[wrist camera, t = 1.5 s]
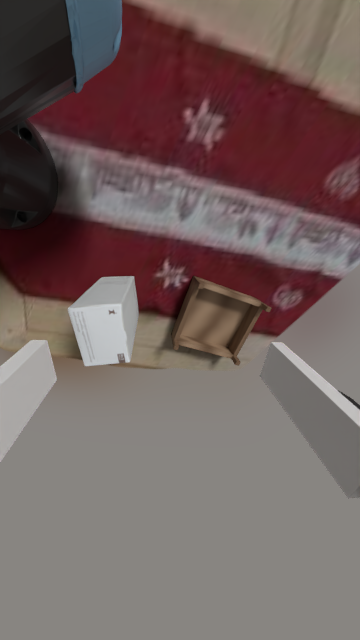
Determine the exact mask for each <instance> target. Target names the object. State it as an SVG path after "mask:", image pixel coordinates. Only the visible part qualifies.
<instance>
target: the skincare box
mask: <svg viewBox="0 0 360 640" xmlns="http://www.w3.org/2000/svg"><path fill="white" fill-rule="evenodd" d="M68 312H69V315H70V319H71V322H72V326H73V329H74V332H75V336H76V339H77V342H78V346H79V349H80V352H81V356H82V359H83V362H84V365H85V366H95V365H105V364H116V363H125V362H130V360H131V354H132V349H133V343H134V338H135V332H136V326H137V321H138V316H139V312H138V303H137V295H136V288H135V281H134V276H119V277H101V278H100V279H99V280H98V281H97V282H96V283H95V284H94V285H93V286H92V287H91V288H89V290H87V291H86V292H85V293H84V294H83V295H82V296H81V297H80V298H79V299H78V300H77V301H76V302H75V303H73V304H72V305H71V306H70V307H69V308H68Z"/></svg>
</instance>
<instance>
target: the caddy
mask: <svg viewBox="0 0 360 640" xmlns="http://www.w3.org/2000/svg"><path fill="white" fill-rule="evenodd" d="M262 310H265V311H267V312H270V310H271V307H269V306H267V305H266V304H264V303H262V302H261V301H259V300H258V299H256V298H254V297H251V296H248V295H246V294H243V293H240V292H237V291H234V290H232V289H229V288H226V287H223V286H220V285H218V284H215V283H212V282H209V281H207V280H204V279H201V278H198V277H195V276H193V279H192V281H191V284H190V286H189V289H188V292H187V294H186V297H185V299H184V302H183V305H182V307H181V310H180V312H179V315H178V318H177V320H176V323H175V325H174V328H173V331H172V333H171V334H172V341H173V349H175V350H178V348H179V345H181V346H185V347H189V348H193V349H197V350H200V351H204V352H208V353H212V354H216V355H220V356H223V357H227V358H231V359H232V360H233V362H234V364H235V365H239V364H240V361H239V359H238V358H237V355H238V353H239V351H240V349H241V348H242V346H243V344H244V342H245V340H246V339H247V337H248V335H249V333H250V331H251V330H252V328H253V326H254V324H255V322H256V321H257V319H258V317H259V315H260V313H261V312H262Z"/></svg>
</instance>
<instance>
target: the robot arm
mask: <svg viewBox="0 0 360 640" xmlns="http://www.w3.org/2000/svg"><path fill="white" fill-rule="evenodd" d="M121 35H122V1H121V0H0V229H11V230H23V229H28V228H32V227H34V226H37V225H38V224H40V223H42V222H43V221H44V220H45V219H46V218H47V217H48V216H49V215H50V213H51V212H52V210H53V208H54V205H55V202H56V198H57V192H58V181H57V173H56V169H55V165H54V162H53V159H52V156H51V154H50V152H49V149H48V147H47V145H46V144H45V142H44V140H43V138H42V137H41V135H40V134H39V133H38V131H37V130H36V129H35V127H34V126H33V125H32V124H31V123H30V122H29V120H28V119H27V118H29V117H31V116H33V115H34V114H36V113H38V112H39V111H41V110H43V109H44V108H46V107H48V106H50V105H51V104H53V103H55V102H56V101H58V100H60V99H62V98H63V97H65V96H67V95H68V94H70V93H72V92H73V91H74V92H75V93H78V92H80V91H81V89H82V87H83V84H84V83H85V82H86V81H88V80H89V79H91V78H92V77H93V76H95V75H96V74H98V73H99V72H100V71H102V70H103V69H104V68H106V67H107V66H109V65H110V64H111V63H112V62H113V60H114V59H115V57H116V55H117V53H118V50H119V46H120V41H121ZM260 377H261V378H262V380H263V381H264V383H265V384H266V385H267V387H268V388H269V389H270V390H271V392H272V394H273V395H274V396H275V398H276V399H277V401H278V402H279V403H280V405H281V406H282V407H283V409H284V410H285V412H286V413H287V414H288V415H289V417H290V419H291V420H292V421H293V422H294V424H295V425H296V427H297V428H298V429H299V431H300V432H301V434H302V435H303V436H304V438H305V439H306V441H307V442H308V443H309V445H310V446H311V448H312V449H313V450H314V452H315V453H316V454H317V456H318V457H319V459H320V460H321V461H322V463H323V464H324V466H325V467H326V468H327V470H328V471H329V472H330V474H331V475H332V477H333V478H334V479H335V481H336V482H337V484H338V485H339V486H340V488H341V489H342V490H343V492H344V493H345V495H346V496H347V497H348V498H357V497H360V405H359V404H357V403H356V402H355V401H354V400H353V399H351V398H350V397H348V396H346V395H345V394H343V393H342V392H340V391H338V390H336V389H335V388H334V387H333V386H332V385H330V384H329V383H328V382H327V381H326V380H325V379H324V378H322V377H321V376H320V375H319V374H318V373H317V372H315V371H314V370H313V369H312V368H311V367H310V366H309V365H307V364H306V363H305V362H304V361H303V360H302V359H300V358H299V357H298V356H297V355H296V354H295V353H294V352H292V351H291V350H290V349H289V348H288V347H287V346H286V345H284V344H283V343H281V342H271V344H270V347H269V350H268V353H267V356H266V359H265V362H264V365H263V368H262V371H261V374H260ZM56 380H57V378H56V374H55V370H54V366H53V362H52V358H51V354H50V350H49V346H48V342H47V340H31V341H30V342H29V343H27V344H26V345H25V346H24V347H23V348H21V349H20V350H19V351H18V352H17V353H16V354H14V355H13V356H12V357H11V358H10V359H9V360H8V361H6V362H5V363H4V364H3V365H2V366H0V462H1V461H2V459H3V458H4V456H5V455H6V453H7V452H8V451H9V449H10V448H11V446H12V445H13V443H14V442H15V440H16V439H17V437H18V436H19V434H20V433H21V432H22V430H23V429H24V427H25V426H26V424H27V423H28V421H29V420H30V418H31V417H32V415H33V414H34V412H35V411H36V410H37V408H38V406H39V405H40V404H41V402H42V401H43V399H44V398H45V396H46V395H47V393H48V392H49V390H50V389H51V388H52V386H53V385H54V383H55V382H56Z"/></svg>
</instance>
